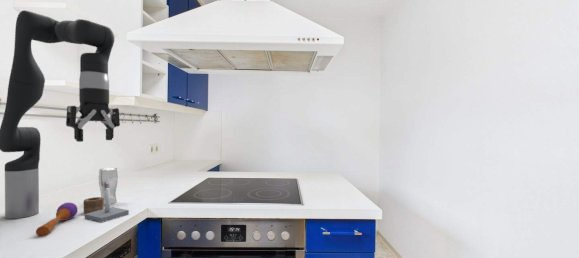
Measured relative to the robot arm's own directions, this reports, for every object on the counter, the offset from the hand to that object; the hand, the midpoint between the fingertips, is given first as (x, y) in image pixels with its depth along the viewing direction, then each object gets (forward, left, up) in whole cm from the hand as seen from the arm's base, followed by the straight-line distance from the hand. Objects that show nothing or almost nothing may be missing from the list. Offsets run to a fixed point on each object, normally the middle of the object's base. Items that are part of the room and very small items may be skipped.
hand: (94, 140), depth 86 cm
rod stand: (-15, +13, -29) cm, 35 cm away
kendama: (-21, 0, -30) cm, 36 cm away
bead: (-25, +14, -29) cm, 41 cm away
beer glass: (-32, +24, -30) cm, 50 cm away
